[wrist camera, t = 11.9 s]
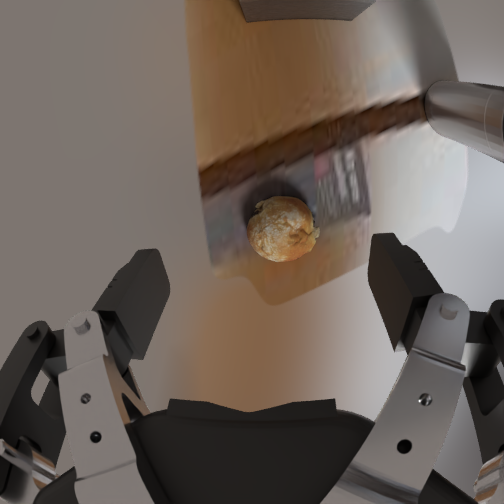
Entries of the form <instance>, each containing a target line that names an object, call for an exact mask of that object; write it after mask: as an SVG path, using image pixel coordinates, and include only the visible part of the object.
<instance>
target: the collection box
mask: <svg viewBox="0 0 504 504" xmlns="http://www.w3.org/2000/svg"><path fill="white" fill-rule="evenodd" d="M239 2H240V5H241V7H242V10H243V13H244V16H245V19H246V22H257V21H268V20H284V19H331V20H347V21H352V20H353V19H354V18H355V17H357V16H358V15H359V14H360V13H362V12H363V11H364V10H365V9H367V8H368V7H369V6H371V5H372V4H373V3H374V2H376V0H239Z"/></svg>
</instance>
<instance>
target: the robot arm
mask: <svg viewBox="0 0 504 504" xmlns="http://www.w3.org/2000/svg"><path fill="white" fill-rule="evenodd" d="M425 113H426V116H427V119H428V121H429V123H430V125H431V126H432V128H433V129H434V130H435V131H436V132H437V133H438V134H440V135H441V136H444V137H447V138H449V139H452V140H454V141H456V142H459V143H461V144H464V145H466V146H468V147H471V148H473V149H475V150H477V151H480V152H482V153H484V154H486V155H489V156H490V157H492V158H494V159H496V160H498V161H500V162H503V163H504V87H502V86H495V85H488V84H480V83H470V82H459V81H438V82H435V83H434V84H433V85H432V86H431V87H430V88H429V89H428V91H427V93H426V97H425ZM368 282H369V286H370V288H371V291H372V293H373V296H374V298H375V301H376V303H377V306H378V308H379V311H380V314H381V316H382V319H383V322H384V324H385V327H386V329H387V332H388V335H389V338H390V341H391V344H392V347H393V350H394V352H398V351H404V350H406V352H407V355H408V356H407V358H406V360H405V363H404V365H403V367H402V369H401V372H400V374H399V376H398V378H397V380H396V382H395V384H394V386H393V388H392V390H391V392H390V394H389V396H388V398H387V400H386V402H385V404H384V405H383V408H382V409H381V411H380V413H379V414H378V416H377V418H376V420H375V421H374V422H373V421H371V420H370V419H368V418H366V417H364V416H362V415H359V414H356V413H353V412H349V411H344V410H337V409H336V402H335V399H327V400H315V401H301V402H292V403H288V404H284V405H280V406H276V407H272V408H268V409H264V410H259V411H255V412H243V411H239V410H235V409H231V408H227V407H224V406H220V405H217V404H213V403H210V402H204V401H190V400H179V399H170V401H169V405H168V409H165V410H161V411H156V412H153V413H151V412H150V410H149V409H148V407H147V405H146V403H145V401H144V398H143V396H142V394H141V391H140V389H139V387H138V384H137V382H136V379H135V376H134V374H133V372H132V369H131V367H130V366H129V362H130V360H131V359H138V360H143V359H144V356H145V354H146V351H147V349H148V346H149V344H150V341H151V339H152V336H153V333H154V331H155V329H156V326H157V324H158V321H159V319H160V316H161V314H162V312H163V309H164V307H165V305H166V302H167V300H168V298H169V295H170V283H169V279H168V276H167V274H166V270H165V268H164V265H163V261H162V258H161V255H160V253H159V251H158V250H157V249H144V250H138V251H137V252H136V253H135V255H134V256H133V257H132V259H131V260H130V262H129V263H127V264H126V265H125V266H124V267H122V268H121V269H120V270H119V271H118V272H117V273H116V275H115V276H114V278H113V280H112V281H111V282H110V283H109V285H108V288H106V289H105V291H104V292H103V294H102V295H101V297H100V298H99V300H98V301H97V303H96V304H95V306H94V307H93V309H92V310H91V311H83V312H80V313H78V314H76V315H75V316H73V317H72V318H71V319H70V320H69V321H68V323H67V324H66V326H65V329H62V330H57V331H52V330H51V329H50V327H49V326H48V325H47V323H46V322H45V321H37V322H34V323H32V324H31V325H29V326H28V327H27V328H26V329H25V330H24V332H23V333H22V335H21V337H20V338H19V340H18V341H17V343H16V344H15V346H14V348H13V349H12V351H11V353H10V355H9V356H8V358H7V360H6V361H5V363H4V365H3V367H2V369H1V370H0V499H2V500H4V501H6V502H8V503H9V504H504V385H503V382H502V380H501V377H500V375H499V372H498V370H497V365H498V364H499V362H500V361H501V362H502V364H503V367H504V300H496V301H494V302H493V303H492V305H491V306H490V308H489V311H488V312H477V311H469V308H468V306H467V305H466V303H465V302H464V301H463V300H462V299H460V298H459V297H457V296H455V295H452V294H448V293H444V292H443V290H442V288H441V287H440V285H439V284H438V282H437V281H436V280H435V278H434V277H433V275H432V273H431V272H430V271H429V270H428V268H427V266H426V265H425V263H423V260H422V259H421V258H420V256H419V255H418V254H417V252H415V251H414V250H413V249H411V248H410V247H408V246H407V245H402V244H401V243H400V241H399V240H398V238H397V237H396V236H395V234H394V233H378V234H373V236H372V240H371V248H370V257H369V265H368ZM40 370H42V371H43V372H44V374H45V375H46V376H47V377H48V378H49V379H50V381H49V383H48V385H47V387H46V390H45V392H44V394H43V397H42V399H41V401H40V404H39V406H38V405H37V404H36V403H35V402H34V401H33V399H32V397H31V388H32V386H33V384H34V382H35V379H36V377H37V376H38V374H39V372H40ZM462 385H463V388H464V391H465V393H466V397H467V400H468V404H469V407H470V410H471V414H472V418H473V421H474V425H475V429H476V433H477V438H478V442H479V446H480V451H481V457H482V462H483V467H482V468H481V470H480V472H479V476H478V479H477V480H476V481H475V483H474V491H475V493H476V495H475V498H474V499H473V498H471V497H470V496H468V495H467V494H466V493H464V492H463V491H462V490H460V489H459V488H458V487H456V486H455V485H453V484H452V483H451V482H449V481H448V480H447V479H445V478H444V477H443V476H442V475H440V474H439V473H438V472H436V471H435V470H434V469H432V468H433V466H434V464H435V462H436V460H437V457H438V455H439V453H440V450H441V448H442V445H443V443H444V440H445V438H446V435H447V432H448V430H449V427H450V424H451V421H452V418H453V415H454V412H455V409H456V406H457V403H458V399H459V395H460V392H461V388H462ZM66 432H67V437H68V441H69V446H70V450H71V454H72V458H73V461H74V465H75V466H74V467H72V468H71V469H70V470H68V471H67V472H65V473H64V474H62V475H61V476H60V475H58V474H57V473H56V472H55V468H56V464H57V460H58V457H59V453H60V450H61V447H62V444H63V441H64V438H65V435H66Z"/></svg>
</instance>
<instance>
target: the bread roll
mask: <svg viewBox="0 0 504 504" xmlns="http://www.w3.org/2000/svg"><path fill="white" fill-rule="evenodd" d="M255 208H257V209H256V210H255V212H254V214H253V215H252V217H251V218H250V220H249V223H248V226H247V236H248V240H249V242H250V244H251V245H252V247H253V249H254V250H255V251H256V252H257V253H258V254H259V255H261V256H263V257H264V258H267V259H269V260H272V261H276V262H282V261H291V260H295V259H298V258H299V257H300V256H302V255H304V254H306V253H307V252H310V251H311V249H312V247H313V246H314V244H315V243H316V238H317V237H318V236H319V231H320V229H319V227H314V226H313V225H314V223H315V221H314V220H313V217H312V212H311V211H310V209H309V208H308V207H307V205H306V204H305V203H303V202H302V201H301V200H299V199H298V198H294V197H289V196H274V197H271V198H269V199H267V200H265V201H264V200H262V201H260V202H259V203H257V205H256V206H255Z"/></svg>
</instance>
